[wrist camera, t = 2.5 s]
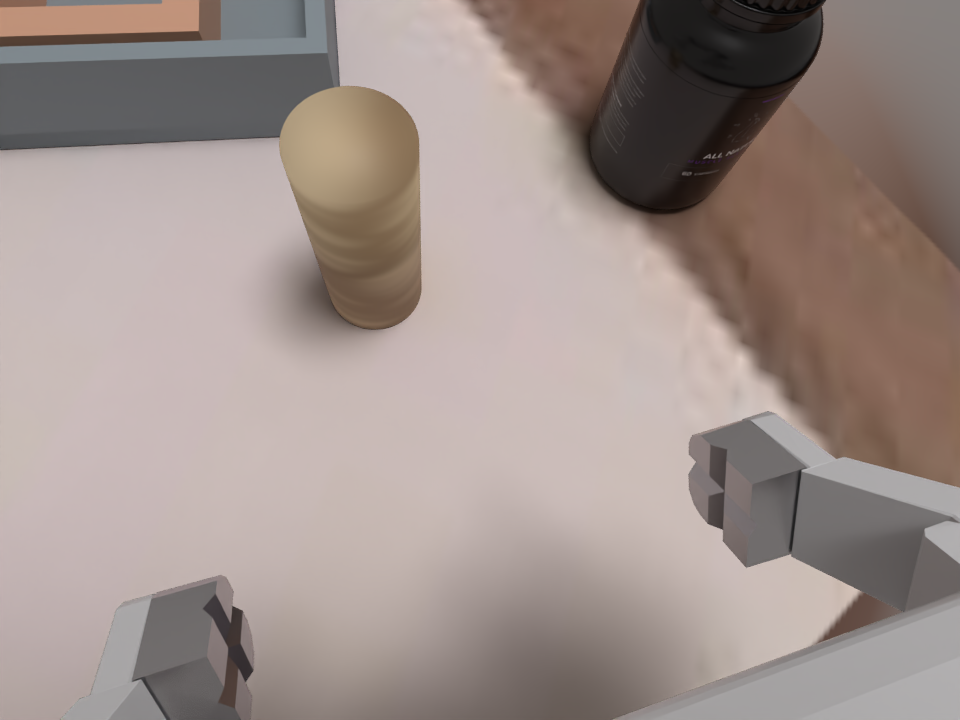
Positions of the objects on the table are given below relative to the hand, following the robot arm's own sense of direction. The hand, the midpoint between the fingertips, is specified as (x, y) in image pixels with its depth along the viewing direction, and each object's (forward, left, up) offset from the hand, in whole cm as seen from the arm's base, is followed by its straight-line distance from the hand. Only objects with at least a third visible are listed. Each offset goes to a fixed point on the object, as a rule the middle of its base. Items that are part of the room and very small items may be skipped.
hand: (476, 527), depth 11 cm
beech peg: (-2, +11, -15) cm, 19 cm away
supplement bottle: (+12, +17, -15) cm, 26 cm away
